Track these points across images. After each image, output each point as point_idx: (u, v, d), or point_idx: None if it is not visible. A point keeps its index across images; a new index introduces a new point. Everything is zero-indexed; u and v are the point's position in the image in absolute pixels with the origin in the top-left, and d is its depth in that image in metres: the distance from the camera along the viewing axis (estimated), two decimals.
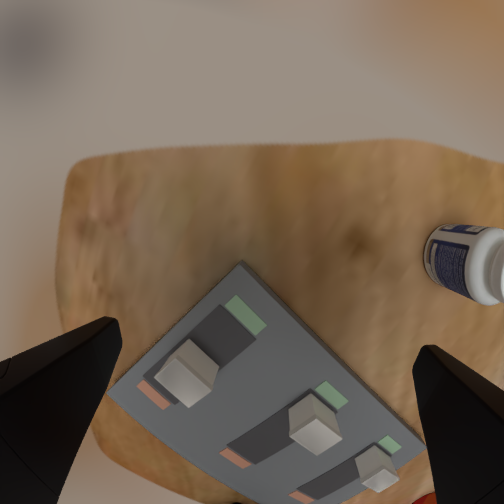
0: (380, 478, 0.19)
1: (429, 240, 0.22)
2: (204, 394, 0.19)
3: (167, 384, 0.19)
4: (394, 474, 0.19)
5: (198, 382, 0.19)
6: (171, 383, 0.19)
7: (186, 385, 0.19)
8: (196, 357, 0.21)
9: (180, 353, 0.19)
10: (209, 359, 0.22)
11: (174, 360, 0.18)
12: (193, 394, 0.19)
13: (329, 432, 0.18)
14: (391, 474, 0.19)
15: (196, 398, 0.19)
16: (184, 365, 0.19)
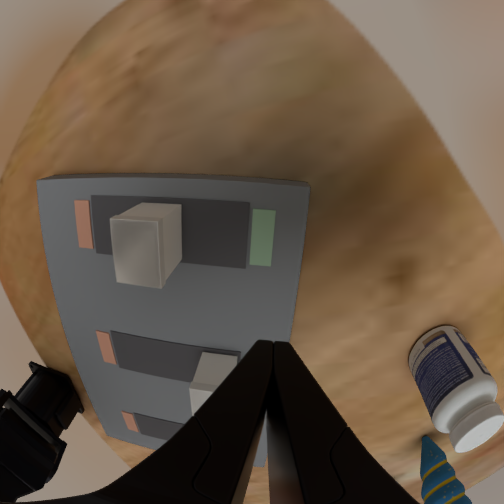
0: None
1: (440, 329, 0.19)
2: (149, 285, 0.14)
3: (118, 239, 0.13)
4: None
5: (155, 267, 0.13)
6: (124, 242, 0.13)
7: (139, 259, 0.13)
8: (173, 233, 0.15)
9: (164, 217, 0.14)
10: (180, 244, 0.17)
11: (153, 222, 0.13)
12: (136, 274, 0.14)
13: None
14: None
15: (135, 281, 0.14)
16: (158, 236, 0.13)
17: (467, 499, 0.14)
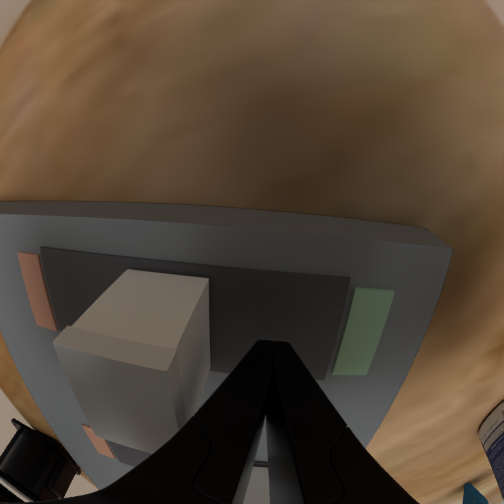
0: None
1: None
2: None
3: (80, 382, 0.05)
4: None
5: (170, 438, 0.05)
6: (94, 391, 0.05)
7: (132, 421, 0.05)
8: (197, 346, 0.07)
9: (180, 340, 0.06)
10: (208, 348, 0.08)
11: (157, 371, 0.05)
12: (132, 438, 0.06)
13: None
14: None
15: (130, 444, 0.06)
16: (172, 391, 0.05)
17: None
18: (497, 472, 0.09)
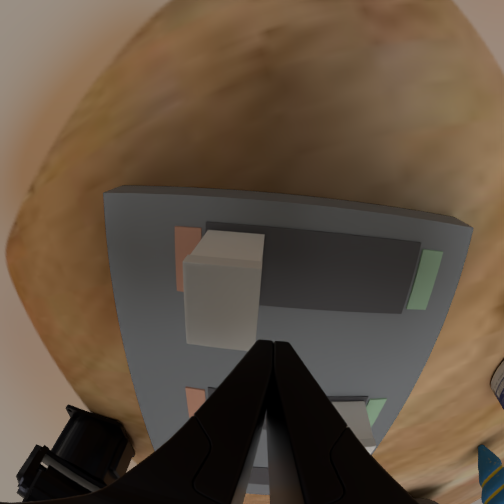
0: None
1: None
2: (237, 347, 0.10)
3: (194, 290, 0.10)
4: None
5: (249, 327, 0.10)
6: (204, 295, 0.10)
7: (225, 317, 0.10)
8: None
9: (261, 259, 0.10)
10: None
11: (255, 270, 0.09)
12: (219, 335, 0.10)
13: None
14: None
15: (215, 343, 0.10)
16: (258, 287, 0.10)
17: None
18: None
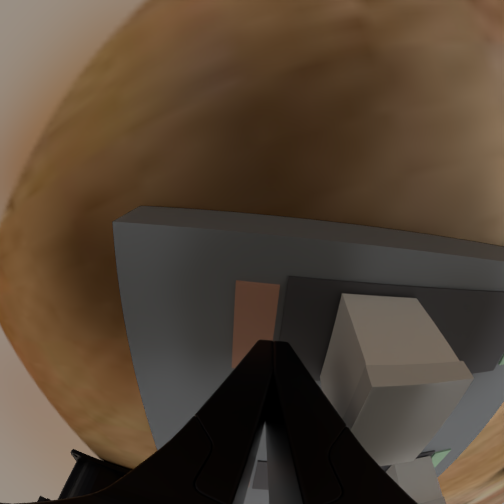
0: None
1: None
2: (395, 462, 0.06)
3: (373, 419, 0.05)
4: None
5: (423, 441, 0.05)
6: (384, 422, 0.05)
7: (401, 438, 0.05)
8: None
9: (452, 353, 0.05)
10: None
11: (466, 381, 0.05)
12: (380, 456, 0.06)
13: None
14: None
15: None
16: (454, 397, 0.05)
17: None
18: None
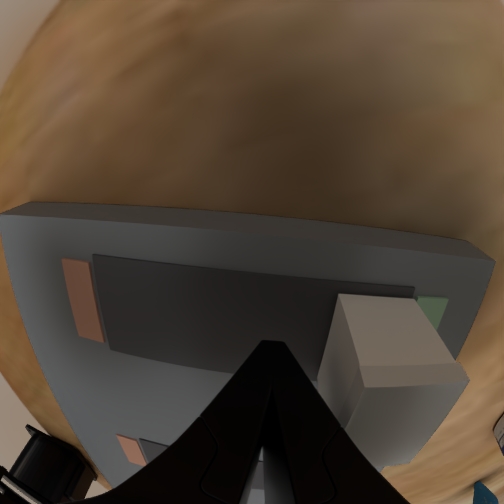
0: None
1: None
2: (391, 464, 0.06)
3: (367, 420, 0.05)
4: None
5: (418, 443, 0.05)
6: (379, 423, 0.05)
7: (396, 439, 0.05)
8: None
9: (448, 355, 0.05)
10: None
11: (462, 383, 0.04)
12: (375, 457, 0.06)
13: None
14: None
15: None
16: (450, 398, 0.05)
17: None
18: None
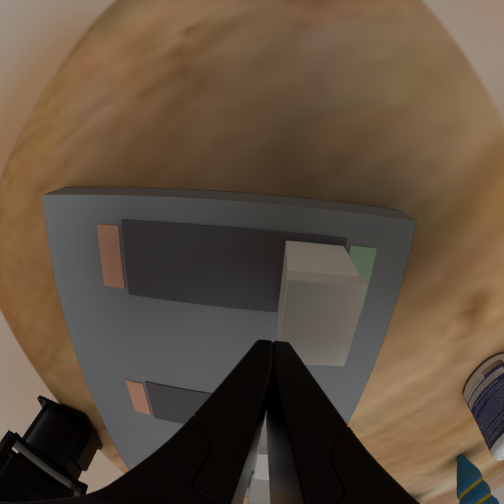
0: None
1: (498, 358, 0.16)
2: (328, 363, 0.10)
3: (295, 308, 0.09)
4: None
5: (344, 343, 0.10)
6: (305, 313, 0.09)
7: (323, 334, 0.09)
8: None
9: (357, 274, 0.10)
10: None
11: (361, 286, 0.09)
12: (313, 352, 0.10)
13: None
14: None
15: (307, 360, 0.10)
16: (359, 303, 0.09)
17: None
18: (482, 426, 0.14)
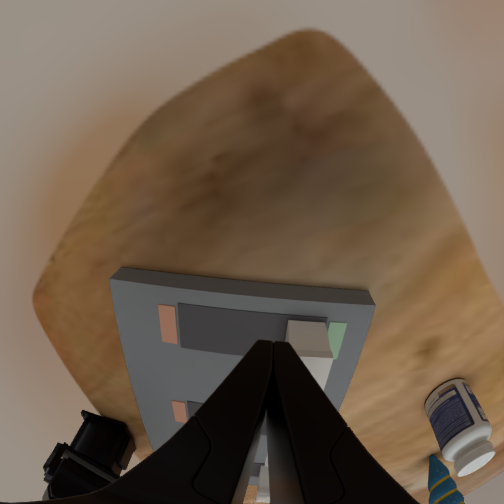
0: None
1: (452, 382, 0.22)
2: None
3: None
4: None
5: (321, 385, 0.16)
6: None
7: None
8: None
9: (329, 348, 0.16)
10: None
11: (330, 358, 0.15)
12: None
13: None
14: None
15: None
16: (329, 365, 0.16)
17: None
18: (436, 434, 0.20)
